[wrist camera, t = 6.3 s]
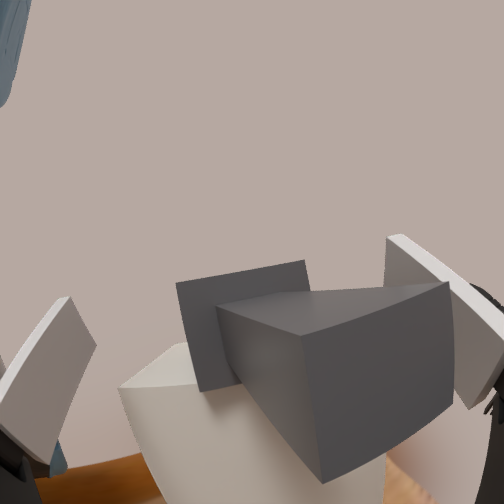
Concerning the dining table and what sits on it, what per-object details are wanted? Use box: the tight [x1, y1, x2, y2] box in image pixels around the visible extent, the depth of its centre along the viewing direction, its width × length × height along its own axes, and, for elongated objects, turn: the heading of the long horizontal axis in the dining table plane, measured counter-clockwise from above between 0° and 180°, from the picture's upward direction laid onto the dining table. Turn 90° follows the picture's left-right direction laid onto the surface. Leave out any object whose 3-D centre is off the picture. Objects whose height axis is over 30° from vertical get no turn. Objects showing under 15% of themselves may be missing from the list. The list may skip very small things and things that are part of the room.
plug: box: [176, 260, 455, 484], centre depth 13 cm, size 19×6×5 cm, turn 14°
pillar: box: [118, 342, 386, 504], centre depth 17 cm, size 12×14×28 cm
